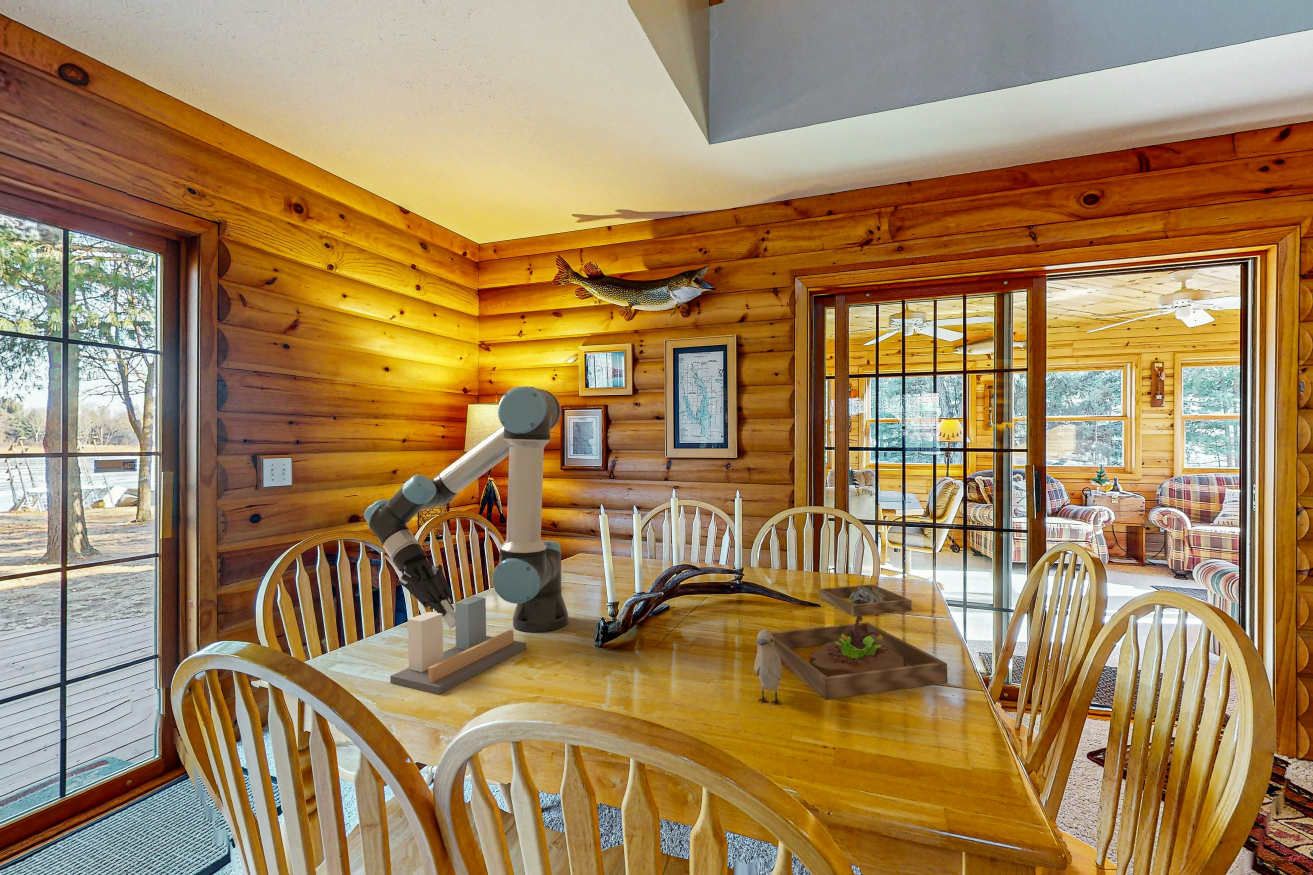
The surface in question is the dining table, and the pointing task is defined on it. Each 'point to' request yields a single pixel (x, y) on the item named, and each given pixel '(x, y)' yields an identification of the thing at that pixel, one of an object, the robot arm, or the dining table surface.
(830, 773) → the dining table surface
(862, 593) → the fossilized seashell
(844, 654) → the plant
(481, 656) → the grey stand base
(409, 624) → the beige tall block
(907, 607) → the frame
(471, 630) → the grey tall block
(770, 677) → the bird
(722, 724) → the dining table surface
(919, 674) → the planter frame
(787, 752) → the dining table surface
